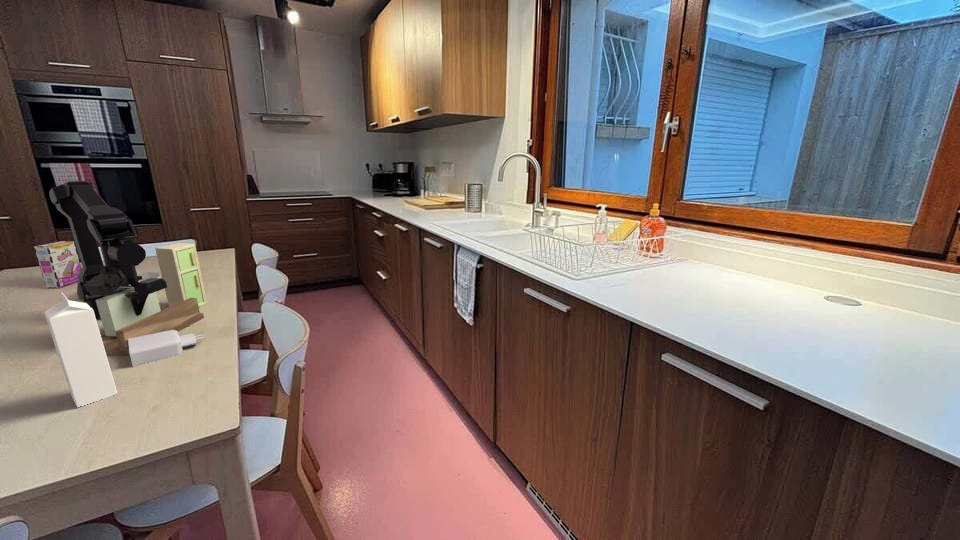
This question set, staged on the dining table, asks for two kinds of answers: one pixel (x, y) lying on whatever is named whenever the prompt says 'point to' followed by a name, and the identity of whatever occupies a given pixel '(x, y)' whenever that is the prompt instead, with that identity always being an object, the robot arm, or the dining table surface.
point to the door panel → (123, 310)
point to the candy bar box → (58, 263)
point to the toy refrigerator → (181, 273)
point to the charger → (159, 346)
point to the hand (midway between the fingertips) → (133, 314)
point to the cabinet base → (153, 325)
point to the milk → (80, 351)
